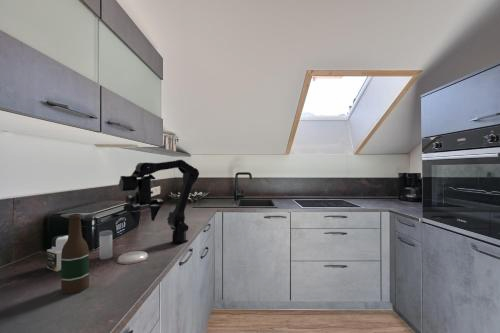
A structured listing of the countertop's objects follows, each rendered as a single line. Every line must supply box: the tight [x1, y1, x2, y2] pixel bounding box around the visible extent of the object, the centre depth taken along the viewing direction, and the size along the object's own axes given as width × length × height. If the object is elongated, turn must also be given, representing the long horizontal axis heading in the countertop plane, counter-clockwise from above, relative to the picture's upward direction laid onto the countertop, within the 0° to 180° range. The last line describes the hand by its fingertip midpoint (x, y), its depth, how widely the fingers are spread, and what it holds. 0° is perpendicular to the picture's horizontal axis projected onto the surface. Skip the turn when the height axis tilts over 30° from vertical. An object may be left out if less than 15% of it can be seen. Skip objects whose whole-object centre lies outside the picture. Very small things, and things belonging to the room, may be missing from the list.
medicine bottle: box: [46, 234, 68, 272], centre depth 98 cm, size 7×7×12 cm
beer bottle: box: [60, 213, 90, 296], centre depth 80 cm, size 8×8×24 cm
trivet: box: [116, 250, 149, 265], centre depth 106 cm, size 12×12×1 cm
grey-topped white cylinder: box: [98, 229, 113, 260], centre depth 108 cm, size 5×5×11 cm
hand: (145, 223), depth 116 cm, fingers open, 9 cm apart
